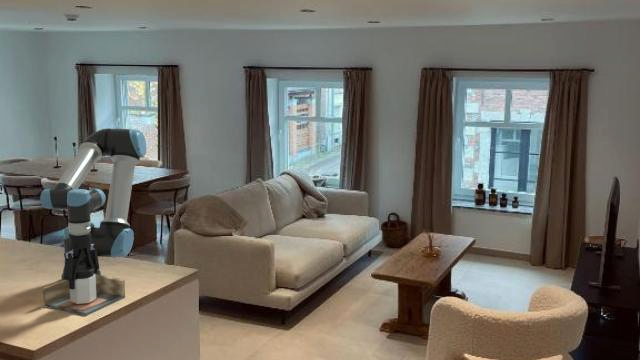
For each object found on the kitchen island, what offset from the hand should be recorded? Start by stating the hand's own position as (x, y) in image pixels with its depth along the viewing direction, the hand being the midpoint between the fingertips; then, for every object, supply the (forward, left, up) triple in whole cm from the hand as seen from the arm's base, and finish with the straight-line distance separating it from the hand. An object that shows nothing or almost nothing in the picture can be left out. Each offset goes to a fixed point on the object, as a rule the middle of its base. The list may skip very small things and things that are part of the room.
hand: (83, 293), depth 231 cm
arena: (-2, +3, -5) cm, 6 cm away
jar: (-1, +1, -3) cm, 3 cm away
